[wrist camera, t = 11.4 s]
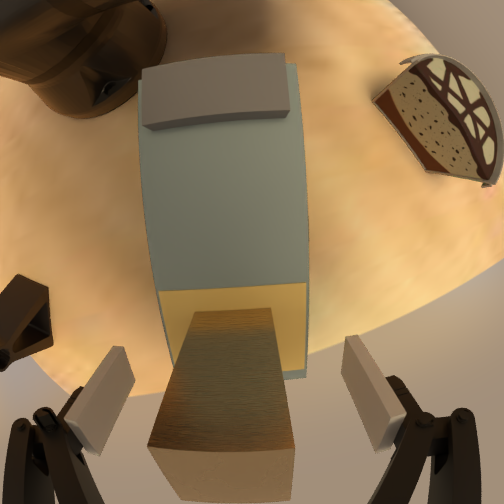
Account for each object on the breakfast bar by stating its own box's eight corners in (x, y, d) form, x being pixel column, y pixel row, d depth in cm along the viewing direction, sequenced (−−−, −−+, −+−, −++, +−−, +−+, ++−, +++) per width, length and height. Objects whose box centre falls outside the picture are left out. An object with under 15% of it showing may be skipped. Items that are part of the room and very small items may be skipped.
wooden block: (194, 311, 18) (146, 446, 7) (270, 307, 18) (294, 448, 7) (205, 370, 19) (181, 500, 8) (273, 367, 19) (290, 500, 8)
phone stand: (53, 344, 29) (6, 395, 17) (24, 329, 28) (-24, 371, 17) (48, 287, 27) (-15, 330, 15) (18, 273, 26) (-43, 308, 15)
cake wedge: (458, 150, 23) (520, 148, 14) (432, 182, 24) (497, 190, 15) (393, 62, 21) (445, 27, 11) (361, 90, 22) (412, 54, 12)
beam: (146, 86, 16) (126, 70, 12) (292, 71, 16) (301, 50, 12) (181, 372, 21) (172, 399, 18) (302, 366, 21) (310, 394, 18)
